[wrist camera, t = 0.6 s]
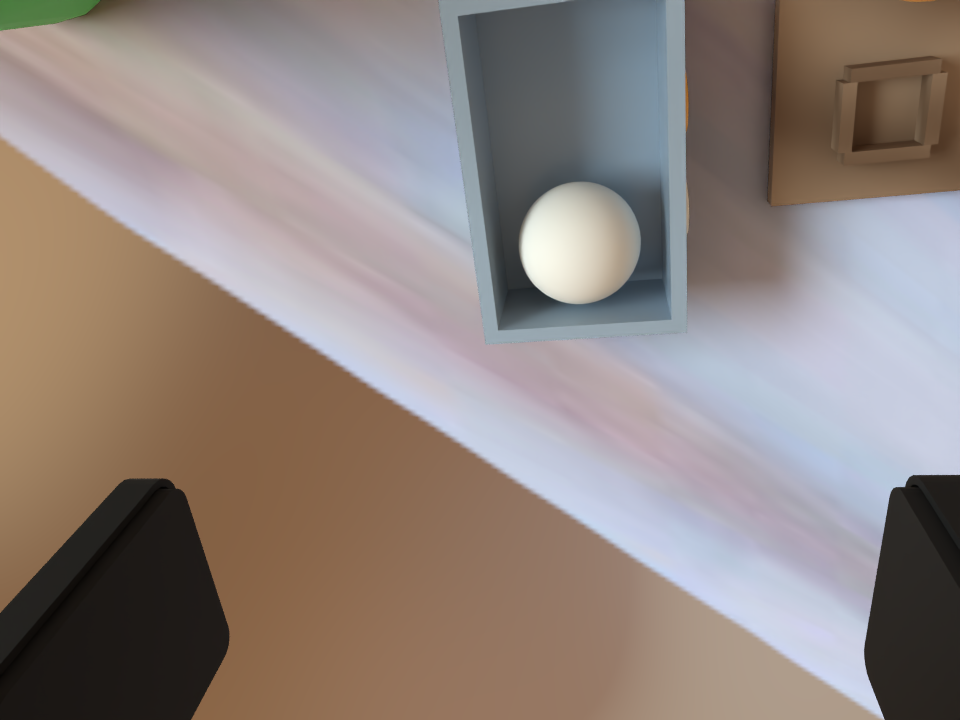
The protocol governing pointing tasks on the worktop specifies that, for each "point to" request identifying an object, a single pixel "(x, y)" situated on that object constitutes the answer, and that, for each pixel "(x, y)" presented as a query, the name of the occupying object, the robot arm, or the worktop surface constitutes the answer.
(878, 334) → the worktop surface
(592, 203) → the cream ball in tray
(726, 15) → the worktop surface
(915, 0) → the orange ball
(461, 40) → the pale blue tray
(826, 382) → the worktop surface
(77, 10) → the bottle
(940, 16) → the walnut rack
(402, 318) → the worktop surface
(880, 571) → the robot arm
